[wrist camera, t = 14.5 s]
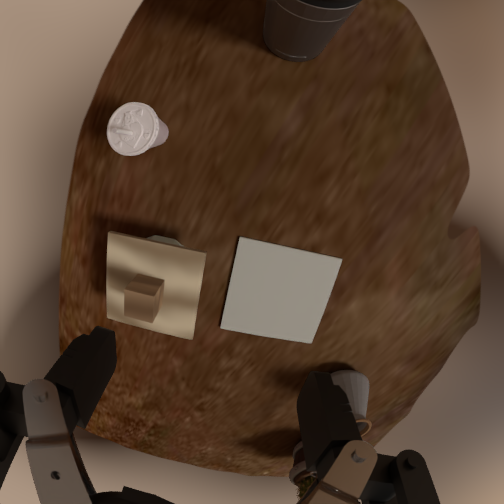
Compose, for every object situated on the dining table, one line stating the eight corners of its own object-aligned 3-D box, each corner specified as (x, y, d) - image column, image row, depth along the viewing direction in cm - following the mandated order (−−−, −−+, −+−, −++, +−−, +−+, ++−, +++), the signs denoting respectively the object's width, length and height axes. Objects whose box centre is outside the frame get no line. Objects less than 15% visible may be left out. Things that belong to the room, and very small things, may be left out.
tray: (239, 236, 42) (239, 237, 42) (341, 258, 43) (342, 259, 43) (220, 326, 47) (220, 328, 47) (310, 341, 48) (311, 343, 48)
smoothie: (140, 159, 38) (93, 164, 25) (132, 119, 36) (83, 107, 23) (181, 148, 38) (147, 146, 25) (173, 106, 36) (137, 86, 23)
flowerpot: (351, 425, 58) (371, 490, 39) (331, 456, 63) (343, 513, 44) (294, 427, 57) (304, 499, 38) (280, 457, 62) (285, 519, 43)
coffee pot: (327, 358, 50) (347, 418, 36) (374, 366, 51) (401, 420, 37) (283, 424, 56) (289, 478, 42) (327, 429, 58) (338, 478, 43)
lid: (110, 230, 37) (90, 243, 31) (206, 251, 38) (199, 268, 32) (109, 315, 41) (93, 335, 35) (193, 336, 42) (186, 360, 36)
